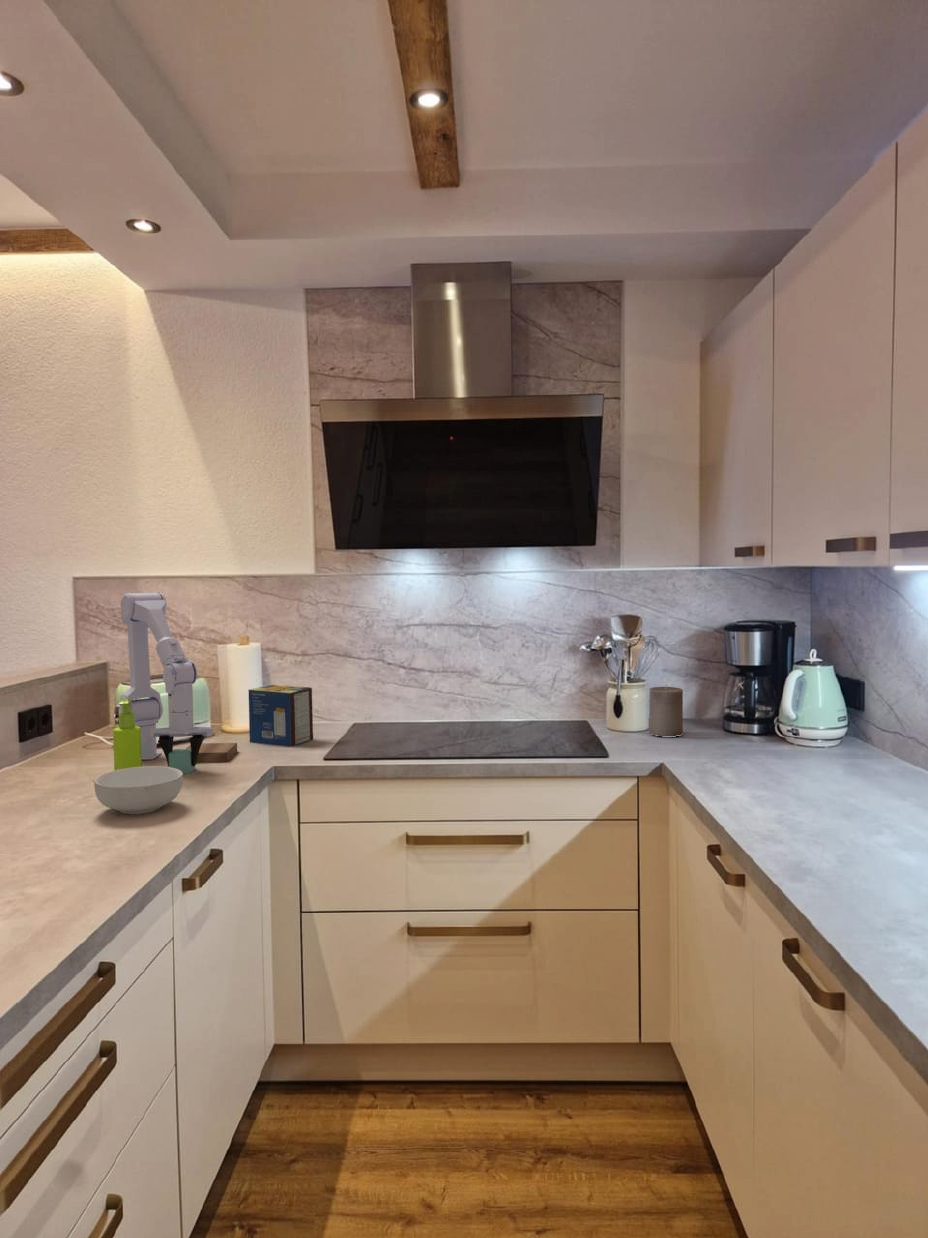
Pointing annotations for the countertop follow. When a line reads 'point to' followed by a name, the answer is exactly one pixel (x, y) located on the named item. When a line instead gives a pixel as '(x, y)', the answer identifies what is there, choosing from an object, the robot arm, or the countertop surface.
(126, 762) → the soap dispenser
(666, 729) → the pillar candle
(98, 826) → the countertop surface
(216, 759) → the walnut base
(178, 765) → the teal cube
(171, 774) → the cereal bowl
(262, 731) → the protein box
